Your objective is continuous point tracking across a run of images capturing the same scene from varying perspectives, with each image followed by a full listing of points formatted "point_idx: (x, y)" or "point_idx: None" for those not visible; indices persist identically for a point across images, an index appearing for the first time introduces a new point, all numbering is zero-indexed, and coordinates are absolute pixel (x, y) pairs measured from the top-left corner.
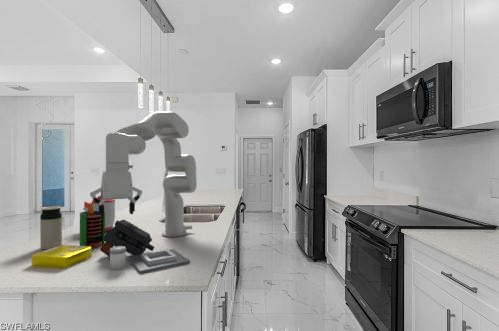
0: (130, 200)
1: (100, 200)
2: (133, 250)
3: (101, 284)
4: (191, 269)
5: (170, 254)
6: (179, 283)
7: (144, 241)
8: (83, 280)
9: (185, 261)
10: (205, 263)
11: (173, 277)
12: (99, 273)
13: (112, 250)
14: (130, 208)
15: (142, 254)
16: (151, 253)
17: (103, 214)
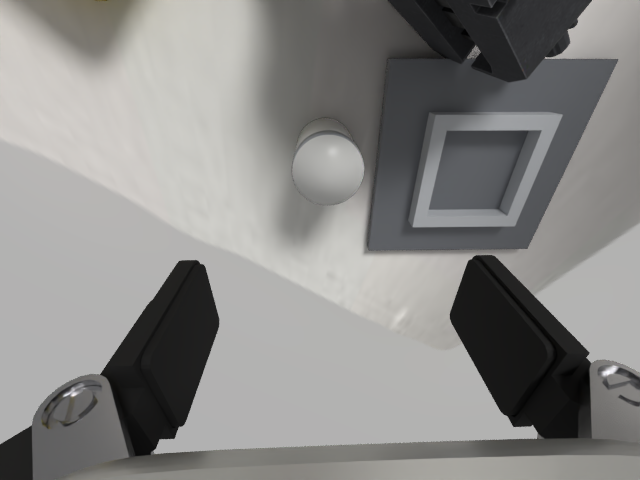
0: (586, 412)
1: (64, 471)
2: (430, 35)
3: (264, 260)
4: None
5: (514, 197)
6: (413, 332)
7: (502, 71)
8: (216, 209)
9: (512, 248)
10: (548, 267)
11: (422, 304)
12: (260, 174)
13: (300, 192)
14: (481, 342)
15: (435, 131)
16: (475, 129)
17: (210, 338)
